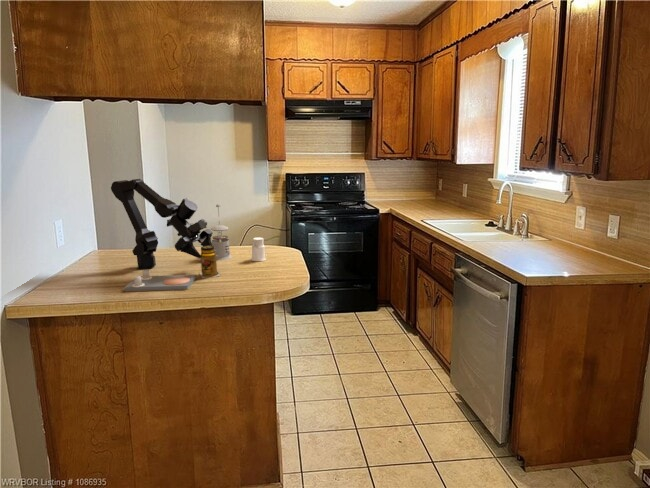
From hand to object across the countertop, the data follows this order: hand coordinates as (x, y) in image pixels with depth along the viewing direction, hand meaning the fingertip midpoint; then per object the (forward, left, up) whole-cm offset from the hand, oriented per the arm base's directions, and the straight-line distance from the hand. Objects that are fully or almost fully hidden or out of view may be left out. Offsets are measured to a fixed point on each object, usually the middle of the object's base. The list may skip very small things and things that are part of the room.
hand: (207, 255), depth 194 cm
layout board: (-16, -12, -8) cm, 21 cm away
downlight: (+18, +22, -8) cm, 30 cm away
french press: (0, +29, -8) cm, 30 cm away
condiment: (0, 0, -8) cm, 9 cm away
